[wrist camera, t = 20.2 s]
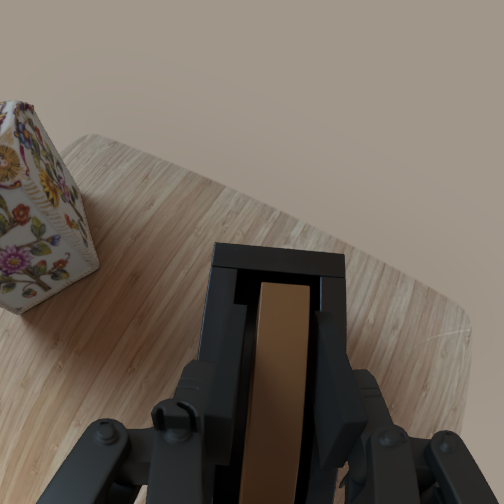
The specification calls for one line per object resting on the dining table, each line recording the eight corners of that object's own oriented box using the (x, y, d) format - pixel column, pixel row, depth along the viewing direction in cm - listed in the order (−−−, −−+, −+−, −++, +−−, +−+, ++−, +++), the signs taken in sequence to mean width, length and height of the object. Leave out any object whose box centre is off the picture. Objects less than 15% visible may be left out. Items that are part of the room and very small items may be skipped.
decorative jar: (18, 319, 23) (-112, 231, 7) (8, 235, 27) (-77, 137, 11) (106, 268, 26) (-5, 122, 10) (83, 188, 30) (16, 60, 14)
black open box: (296, 507, 17) (322, 556, 9) (201, 500, 17) (179, 549, 9) (313, 301, 25) (344, 253, 17) (224, 293, 25) (214, 241, 17)
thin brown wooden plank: (267, 474, 17) (288, 540, 7) (240, 472, 17) (236, 538, 7) (279, 337, 22) (310, 285, 12) (253, 335, 22) (261, 281, 12)
